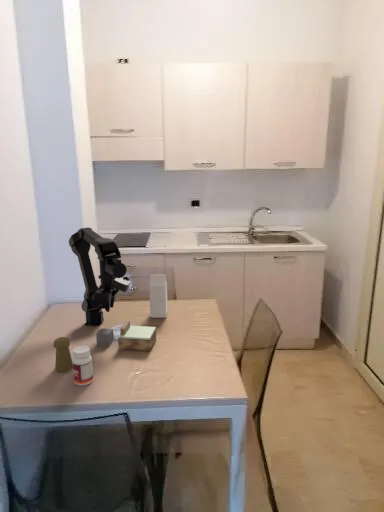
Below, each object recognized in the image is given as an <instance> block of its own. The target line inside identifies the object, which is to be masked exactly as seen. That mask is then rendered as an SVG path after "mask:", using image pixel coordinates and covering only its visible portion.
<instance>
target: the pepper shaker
mask: <svg viewBox="0 0 384 512" xmlns="http://www.w3.org/2000/svg"><path fill="white" fill-rule="evenodd" d="M70 344H71V340H70V338H68V337H66V336H60V337H59V336H58V337H57V338H56V339H54V342H53V347H54V348H55V365H54V366H55V368H54V370H55V372H57V373H68V372H70V371H73V365H72V359H73V358H72V355H71V352H70V351H71V350H70V348H69V347H70Z"/></svg>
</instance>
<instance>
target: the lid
mask: <svg viewBox="0 0 384 512" xmlns="http://www.w3.org/2000/svg"><path fill="white" fill-rule="evenodd" d="M155 329H156V330H157V327H156V326H147V325H146V326H143V325H131V321H130V320H129V321H128V320H125V322H124V323H123V324H122V326H121V327H120V329H119V330H120V331H119V334H118V336H117V339H118V338H123V339H140V340H150V338H151V337H152V335H153V333H154V331H155Z"/></svg>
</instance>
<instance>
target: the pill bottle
mask: <svg viewBox="0 0 384 512" xmlns="http://www.w3.org/2000/svg"><path fill="white" fill-rule="evenodd" d="M90 349H91V348H90V347H89V346H88V345H80V346H76V347H74V348H73V349H72V355H73V356H72V358H71V359H72V365H73V369H72V375H73V377H72V378H73V383H74V384H75V385H76V386H87V385H89V384H91V383H92V382H93V381H94V368H93V357H92V355H91V350H90Z"/></svg>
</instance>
